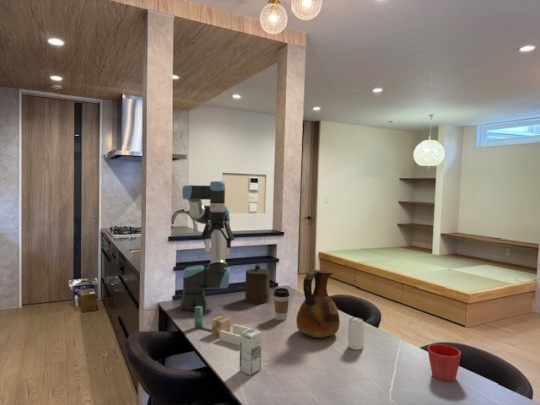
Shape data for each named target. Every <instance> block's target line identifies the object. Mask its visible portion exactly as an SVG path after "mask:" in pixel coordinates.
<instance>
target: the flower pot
mask: <svg viewBox="0 0 540 405" xmlns="http://www.w3.org/2000/svg"><path fill="white" fill-rule="evenodd" d="M427 354H428V359H429V364H430V371H431V375H432V377H434V379H436V380H438V381H441V382H454V381H456V379H457V375H458V370H459V367H460V360H461V356H462V352H461V350H459V349H458V348H457V347H454V346H451V345H447V344H443V343H442V344H441V343H439V344H437V343H434V344H430V345H429V346H428V347H427Z"/></svg>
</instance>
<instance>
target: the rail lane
mask: <svg viewBox="0 0 540 405" xmlns="http://www.w3.org/2000/svg"><path fill="white" fill-rule="evenodd" d="M250 328H251V329H253V328H252V327H247V326H243V325H240V324H236V323H233V324H232V332H231V331H230V332H227V331H223V330H221V331H220V337H219V340H220V341H224V342H226V343H229V344H233V345H236V346H239V347H240V333H241V332H243V331H246V330H248V329H250ZM254 329H255V328H254ZM255 330H258V331H260V330H259V329H255Z"/></svg>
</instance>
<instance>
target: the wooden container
mask: <svg viewBox="0 0 540 405" xmlns="http://www.w3.org/2000/svg"><path fill="white" fill-rule="evenodd" d="M261 267H262V266H261V265H260V264H256V265H255V266H254V268H248V269H246V270H245V283H244V284H245V286H244V288H245V290H244V292H245V294H244V296H245V298H244V301H245V302H246V303H249V304H253V305H254V304H257V305H259V304H260V305H261V304H266V303H269V302H270V294H271V293H270V291H271V290H270V270H269V269H267V268H261Z"/></svg>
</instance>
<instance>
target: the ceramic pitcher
mask: <svg viewBox="0 0 540 405" xmlns="http://www.w3.org/2000/svg"><path fill="white" fill-rule="evenodd" d="M333 274H334V271H330V270H321V269H310V270H309V272H307V273H306V275H305V276H304V279H303V284H302V289H303V294H304V298H305V299H304V300H303V302H302V304H301V306H300V307H299V310H298V311H297V315H296V327H297V330H298V331H300V332H301V333H303V334H306V336H308V337H312V338H317V339H325V338H326V337H328V336H333V335H335V334H337V333H338V331H339V328H340V315H339V310H338V307H337V305H336V303H335V302H334V300H333V298H331V296H329V294H328V291H327V287H328V286H327V285H328V280H329V278H330V277H331V276H332V275H333ZM313 279H314V289H313V291H312V285H313V284H312V283H313Z"/></svg>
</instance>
